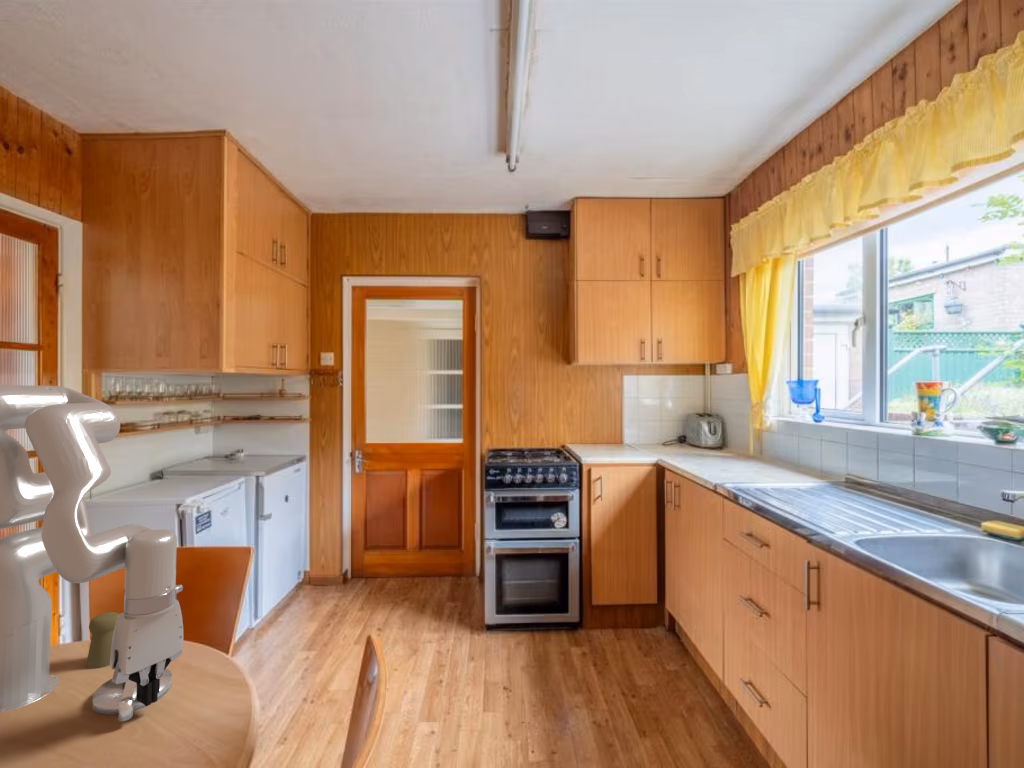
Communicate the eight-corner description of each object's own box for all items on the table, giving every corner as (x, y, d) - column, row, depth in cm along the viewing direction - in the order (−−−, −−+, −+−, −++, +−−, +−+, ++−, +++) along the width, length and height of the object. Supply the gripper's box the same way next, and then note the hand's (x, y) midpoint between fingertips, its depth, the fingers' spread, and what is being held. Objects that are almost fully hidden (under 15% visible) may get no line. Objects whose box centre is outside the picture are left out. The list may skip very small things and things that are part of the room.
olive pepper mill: (100, 676, 100) (102, 623, 100) (77, 672, 101) (78, 619, 101) (129, 660, 106) (130, 610, 106) (106, 656, 107) (108, 607, 107)
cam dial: (99, 685, 95) (100, 662, 95) (173, 668, 102) (174, 647, 102) (78, 741, 81) (79, 714, 81) (166, 717, 87) (167, 692, 87)
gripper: (182, 582, 97) (180, 674, 96) (89, 612, 83) (87, 718, 83) (204, 590, 93) (202, 685, 93) (111, 623, 80) (108, 734, 80)
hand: (147, 701), depth 88 cm, fingers closed
